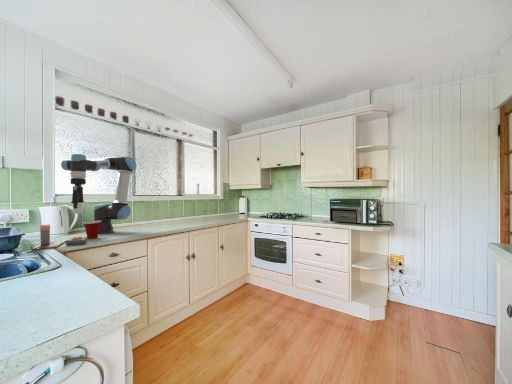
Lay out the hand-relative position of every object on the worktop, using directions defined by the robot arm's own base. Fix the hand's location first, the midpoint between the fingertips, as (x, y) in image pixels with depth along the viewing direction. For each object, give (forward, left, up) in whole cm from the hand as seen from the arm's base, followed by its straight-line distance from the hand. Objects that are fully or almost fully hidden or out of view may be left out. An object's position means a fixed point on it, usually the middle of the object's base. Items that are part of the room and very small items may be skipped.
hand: (77, 213), depth 141 cm
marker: (+14, +5, -18) cm, 24 cm away
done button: (0, 0, -17) cm, 17 cm away
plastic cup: (-5, -17, -20) cm, 27 cm away
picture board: (+13, 0, -20) cm, 23 cm away
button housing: (0, 0, -20) cm, 20 cm away
